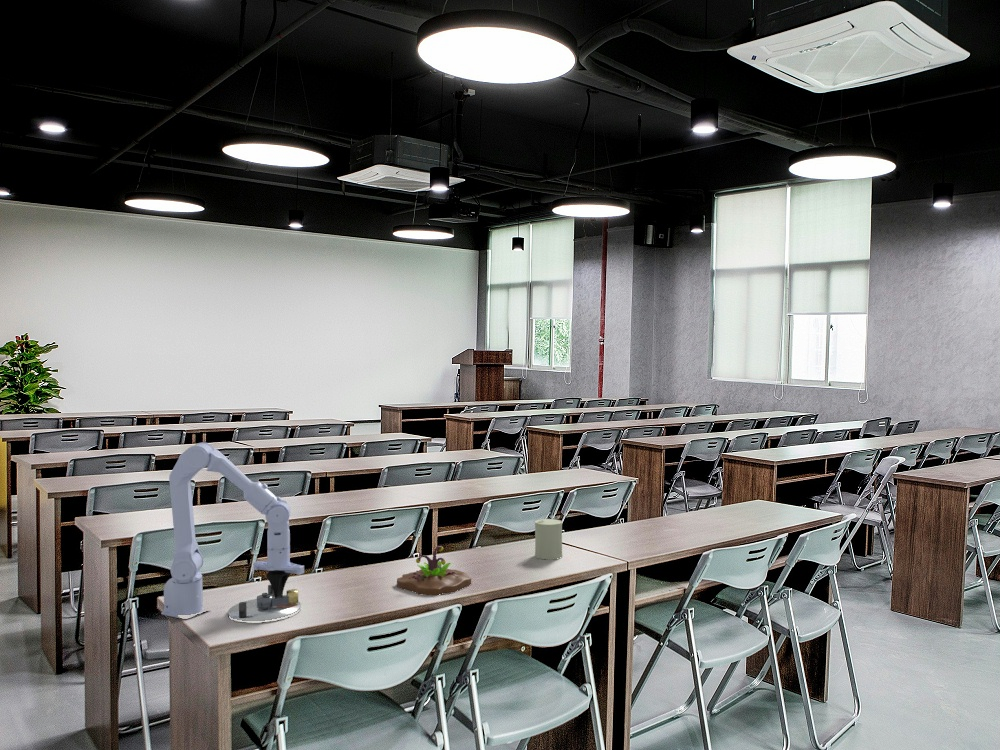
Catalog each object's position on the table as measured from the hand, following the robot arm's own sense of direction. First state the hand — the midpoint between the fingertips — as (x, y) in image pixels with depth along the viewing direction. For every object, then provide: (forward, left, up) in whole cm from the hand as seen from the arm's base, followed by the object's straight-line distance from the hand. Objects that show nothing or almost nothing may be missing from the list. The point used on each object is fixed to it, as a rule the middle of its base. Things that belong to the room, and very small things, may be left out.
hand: (278, 598), depth 200 cm
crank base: (-1, -4, -2) cm, 5 cm away
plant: (+26, +37, -3) cm, 45 cm away
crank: (+1, -2, -1) cm, 2 cm away
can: (+42, +80, -3) cm, 90 cm away
